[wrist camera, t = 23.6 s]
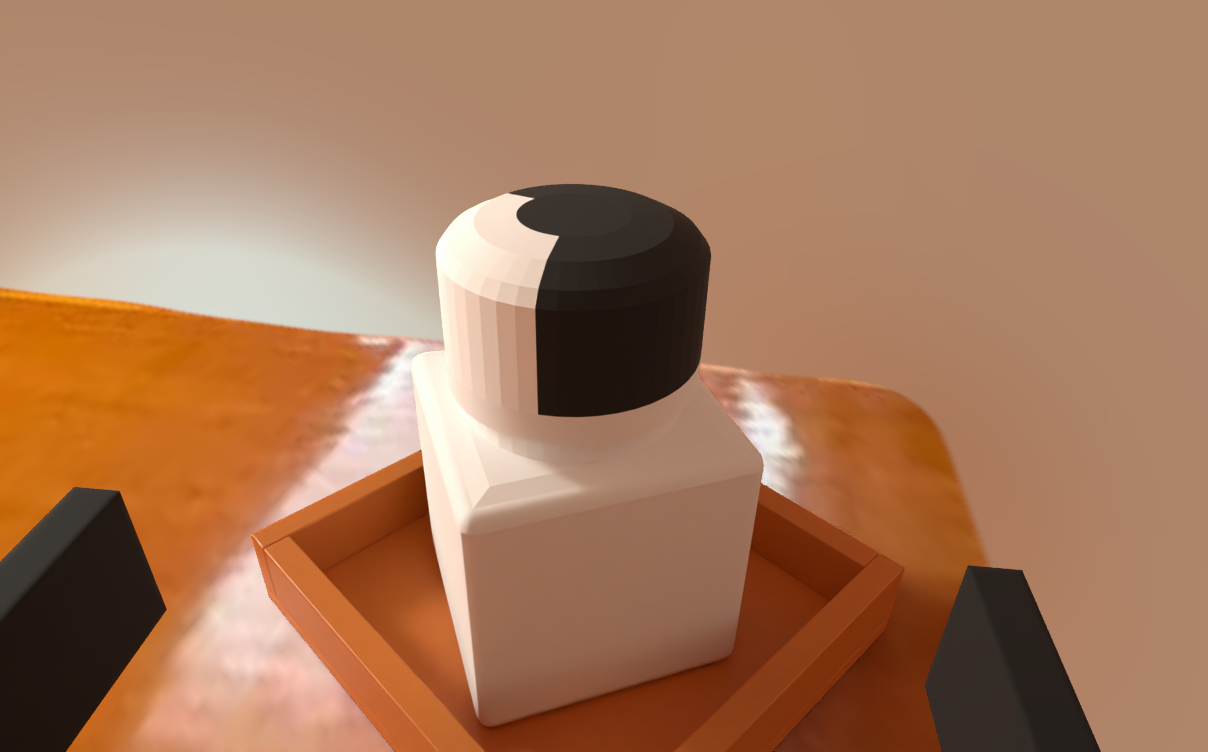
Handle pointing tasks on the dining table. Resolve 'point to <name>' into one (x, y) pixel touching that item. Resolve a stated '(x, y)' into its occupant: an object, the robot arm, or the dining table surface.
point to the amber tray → (594, 726)
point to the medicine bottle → (580, 450)
